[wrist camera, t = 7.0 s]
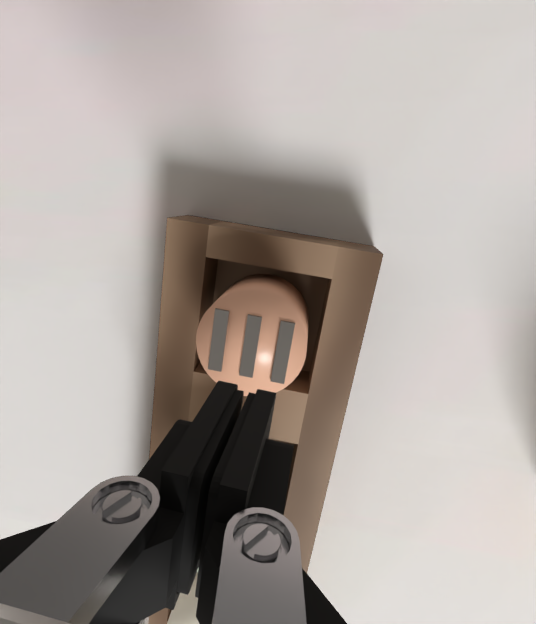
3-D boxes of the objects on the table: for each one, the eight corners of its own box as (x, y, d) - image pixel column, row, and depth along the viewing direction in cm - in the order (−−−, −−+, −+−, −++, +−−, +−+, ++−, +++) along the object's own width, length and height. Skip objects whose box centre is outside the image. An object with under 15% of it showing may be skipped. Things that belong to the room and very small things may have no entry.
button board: (374, 246, 20) (383, 254, 18) (287, 619, 28) (284, 666, 26) (187, 215, 21) (167, 217, 18) (154, 587, 29) (136, 630, 26)
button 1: (263, 555, 25) (253, 622, 21) (253, 610, 27) (242, 681, 23) (190, 539, 25) (167, 601, 22) (184, 593, 27) (161, 661, 23)
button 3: (316, 282, 20) (316, 303, 16) (300, 368, 21) (296, 407, 17) (223, 266, 20) (201, 282, 16) (213, 352, 22) (190, 386, 18)
